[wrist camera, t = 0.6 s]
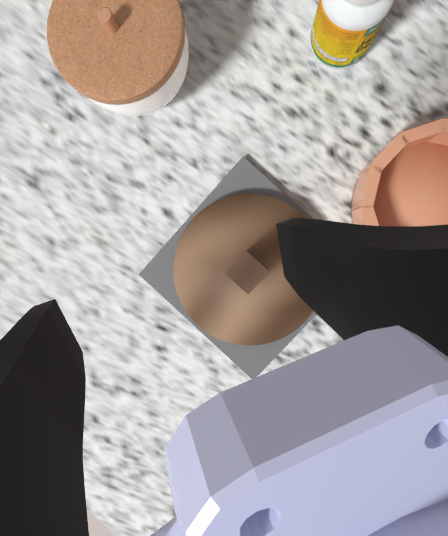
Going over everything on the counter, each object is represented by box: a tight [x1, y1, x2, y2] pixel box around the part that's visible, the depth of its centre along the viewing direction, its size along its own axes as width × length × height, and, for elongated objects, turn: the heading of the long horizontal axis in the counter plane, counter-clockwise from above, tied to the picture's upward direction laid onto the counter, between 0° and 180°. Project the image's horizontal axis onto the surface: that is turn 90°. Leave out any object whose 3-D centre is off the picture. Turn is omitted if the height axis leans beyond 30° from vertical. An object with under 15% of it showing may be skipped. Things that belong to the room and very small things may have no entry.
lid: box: [173, 194, 313, 346], centre depth 33 cm, size 14×14×4 cm
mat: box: [139, 157, 317, 379], centre depth 35 cm, size 15×15×1 cm
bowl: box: [351, 118, 448, 227], centre depth 32 cm, size 13×13×4 cm
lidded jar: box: [47, 0, 189, 116], centre depth 31 cm, size 11×11×9 cm
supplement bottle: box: [310, 0, 394, 69], centre depth 29 cm, size 5×5×10 cm
